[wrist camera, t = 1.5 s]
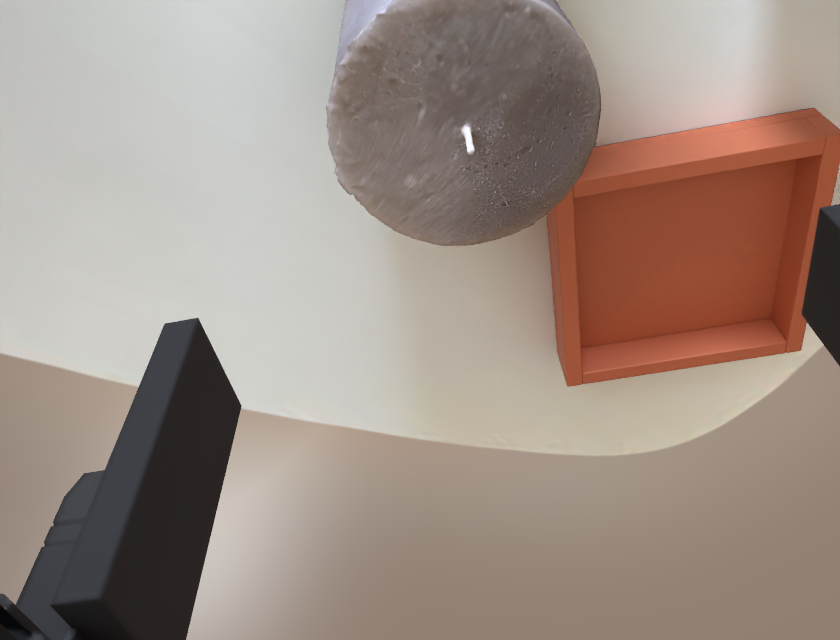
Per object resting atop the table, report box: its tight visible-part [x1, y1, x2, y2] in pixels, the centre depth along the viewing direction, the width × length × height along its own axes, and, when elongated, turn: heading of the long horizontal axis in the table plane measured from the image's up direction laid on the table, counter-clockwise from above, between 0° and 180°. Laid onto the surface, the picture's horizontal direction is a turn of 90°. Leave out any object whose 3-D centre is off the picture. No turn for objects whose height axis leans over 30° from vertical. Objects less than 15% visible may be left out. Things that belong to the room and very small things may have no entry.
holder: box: [547, 108, 840, 387], centre depth 43 cm, size 15×15×4 cm
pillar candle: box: [326, 0, 601, 246], centre depth 30 cm, size 10×10×15 cm
